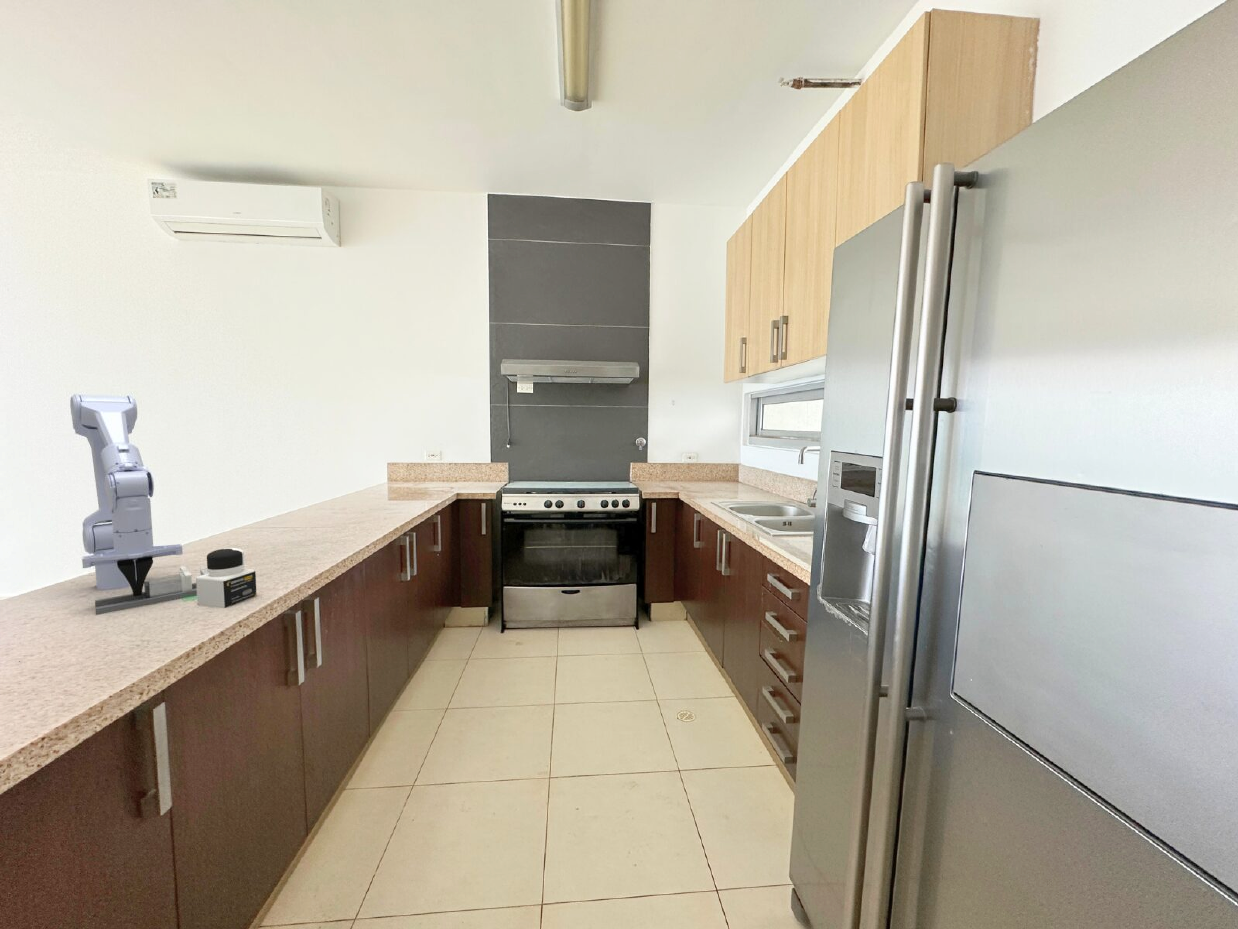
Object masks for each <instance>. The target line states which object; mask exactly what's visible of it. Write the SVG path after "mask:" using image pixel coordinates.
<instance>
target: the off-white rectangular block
mask: <svg viewBox="0 0 1238 929" xmlns="http://www.w3.org/2000/svg"><path fill="white" fill-rule="evenodd" d="M179 570H180V572H178V574H179V575H180V576H181V578H182V592H184V591H190V590H192V583H193V582H192V581H193V580H192V573H191V572H190V570H188V569H187V567H186V566H185V565H183V566H179Z"/></svg>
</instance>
